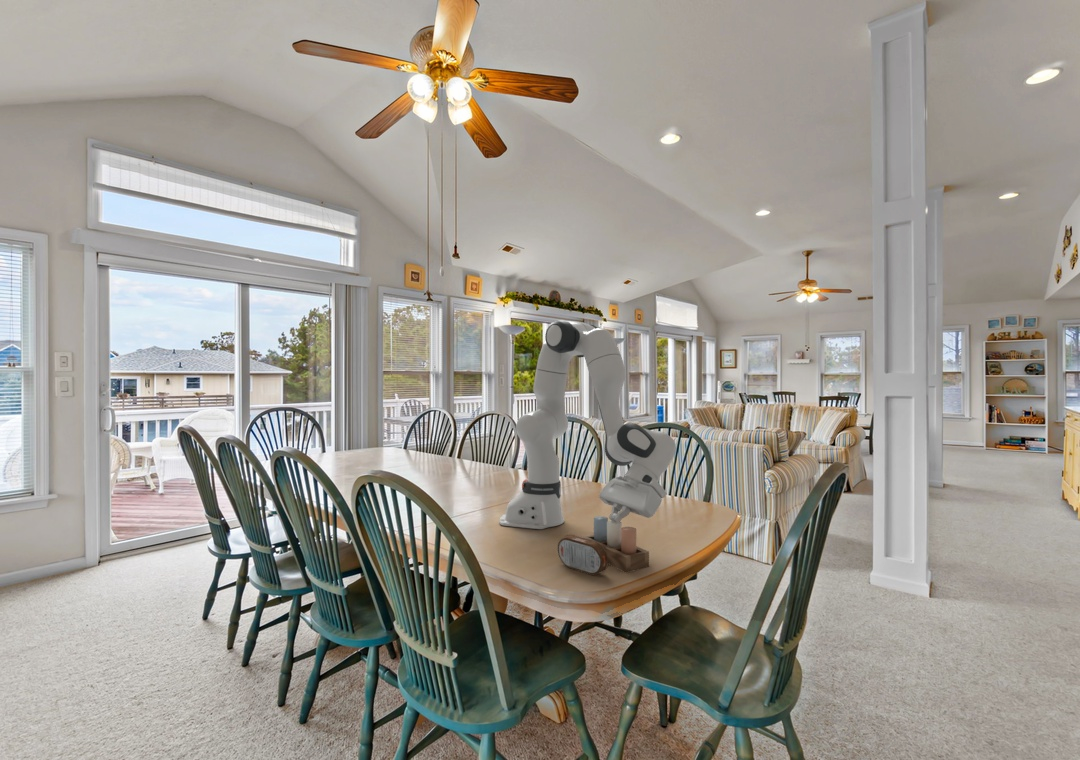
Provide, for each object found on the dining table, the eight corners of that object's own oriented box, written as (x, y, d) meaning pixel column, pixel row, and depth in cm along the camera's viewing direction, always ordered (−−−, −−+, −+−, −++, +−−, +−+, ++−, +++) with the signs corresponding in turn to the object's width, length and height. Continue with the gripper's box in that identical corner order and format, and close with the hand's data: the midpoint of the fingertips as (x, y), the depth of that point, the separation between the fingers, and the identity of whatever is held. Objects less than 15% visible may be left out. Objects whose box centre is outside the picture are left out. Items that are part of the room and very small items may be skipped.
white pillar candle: (606, 553, 139) (606, 524, 139) (607, 548, 143) (607, 520, 143) (621, 554, 139) (621, 525, 139) (621, 549, 143) (621, 520, 143)
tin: (608, 576, 129) (608, 543, 129) (601, 579, 127) (601, 546, 127) (563, 561, 139) (562, 531, 139) (555, 565, 137) (555, 533, 137)
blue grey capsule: (593, 548, 144) (593, 520, 144) (594, 543, 148) (594, 516, 148) (607, 548, 144) (607, 520, 144) (608, 543, 148) (607, 516, 148)
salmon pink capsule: (621, 561, 134) (621, 531, 134) (621, 555, 138) (621, 526, 138) (636, 561, 134) (636, 531, 133) (636, 556, 138) (636, 527, 137)
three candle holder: (649, 566, 135) (649, 551, 135) (626, 572, 131) (626, 557, 131) (604, 546, 151) (604, 532, 151) (582, 551, 147) (582, 537, 147)
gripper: (610, 468, 153) (584, 505, 148) (659, 480, 136) (631, 522, 131) (621, 481, 156) (596, 518, 151) (671, 495, 138) (644, 536, 133)
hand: (613, 520), depth 141 cm, fingers closed, pressing on white pillar candle
